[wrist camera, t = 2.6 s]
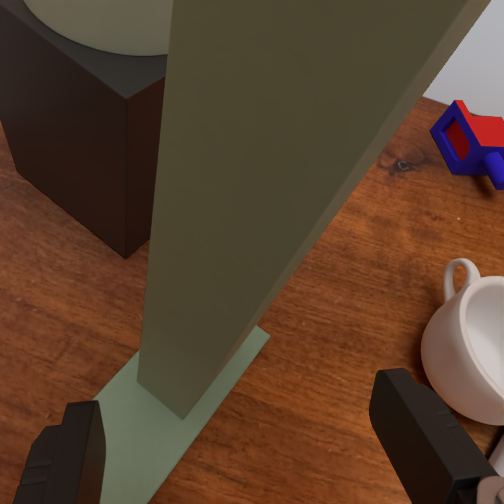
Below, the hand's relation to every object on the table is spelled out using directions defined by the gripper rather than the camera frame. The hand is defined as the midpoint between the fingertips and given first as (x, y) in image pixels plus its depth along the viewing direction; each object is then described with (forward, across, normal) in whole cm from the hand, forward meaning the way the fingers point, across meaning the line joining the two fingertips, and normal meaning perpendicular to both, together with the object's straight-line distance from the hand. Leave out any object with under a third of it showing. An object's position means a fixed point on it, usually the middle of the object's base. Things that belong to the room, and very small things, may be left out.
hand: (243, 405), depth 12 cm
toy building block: (+27, -24, -4) cm, 37 cm away
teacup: (+10, -15, +9) cm, 20 cm away
